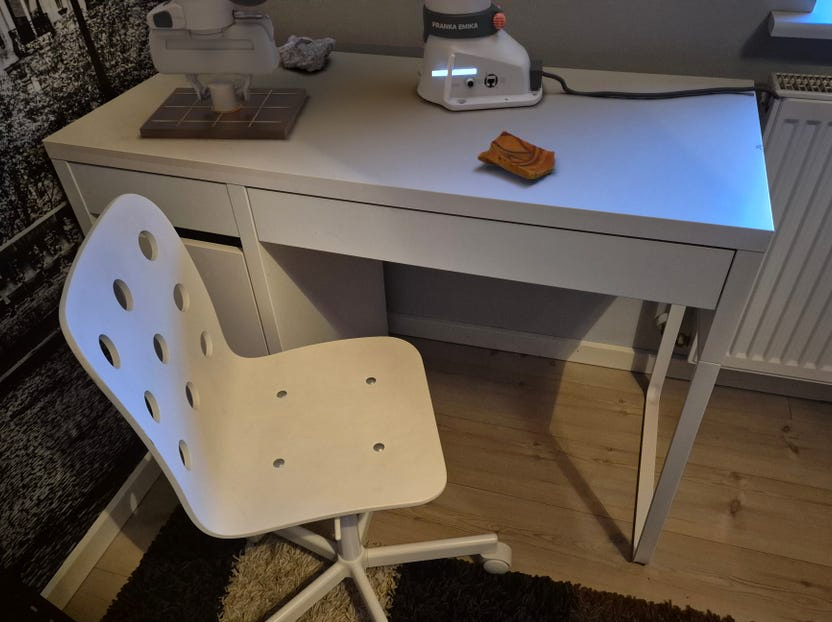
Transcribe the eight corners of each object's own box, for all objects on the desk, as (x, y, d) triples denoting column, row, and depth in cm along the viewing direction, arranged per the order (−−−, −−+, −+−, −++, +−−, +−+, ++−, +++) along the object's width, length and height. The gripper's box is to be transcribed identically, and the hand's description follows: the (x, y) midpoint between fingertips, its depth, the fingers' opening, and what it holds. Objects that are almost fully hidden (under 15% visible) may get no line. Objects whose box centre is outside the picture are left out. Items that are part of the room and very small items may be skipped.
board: (307, 96, 121) (305, 87, 120) (285, 139, 108) (283, 129, 107) (178, 95, 123) (176, 86, 122) (141, 137, 109) (138, 128, 108)
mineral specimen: (317, 79, 128) (266, 66, 132) (347, 64, 136) (298, 51, 139) (316, 47, 124) (264, 34, 128) (347, 33, 132) (297, 21, 135)
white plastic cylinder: (241, 102, 115) (236, 78, 113) (234, 111, 112) (229, 87, 110) (217, 102, 116) (212, 78, 113) (210, 111, 113) (204, 87, 110)
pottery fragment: (499, 128, 101) (562, 129, 97) (502, 156, 104) (564, 159, 100) (470, 156, 95) (537, 159, 90) (475, 186, 98) (539, 190, 93)
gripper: (275, 4, 105) (289, 92, 115) (150, 5, 107) (173, 92, 116) (266, 16, 101) (280, 107, 110) (135, 16, 102) (160, 106, 112)
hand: (224, 99), depth 113 cm, fingers open, 6 cm apart
